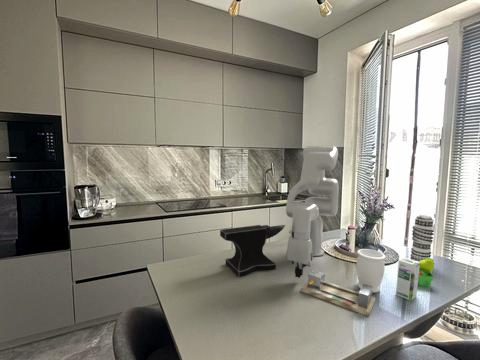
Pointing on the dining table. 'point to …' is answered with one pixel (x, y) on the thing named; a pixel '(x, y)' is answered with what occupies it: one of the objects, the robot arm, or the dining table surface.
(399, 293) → the syrup box
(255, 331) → the dining table surface
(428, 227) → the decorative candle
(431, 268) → the fruit basket
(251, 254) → the anvil
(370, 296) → the gauge hardware
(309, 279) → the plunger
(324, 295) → the gauge board
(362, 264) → the jar
